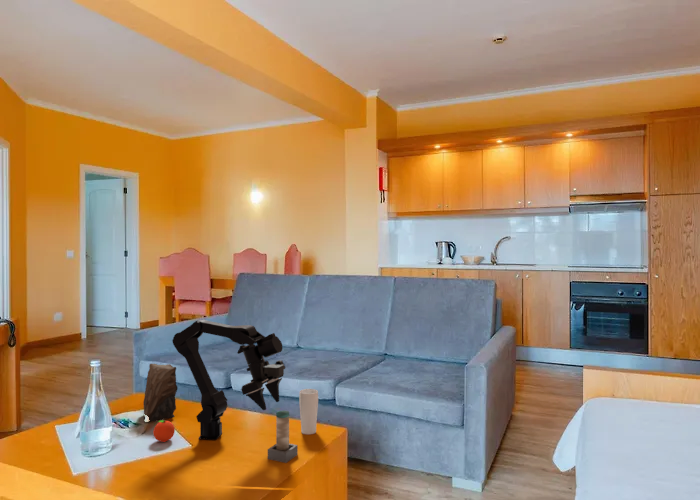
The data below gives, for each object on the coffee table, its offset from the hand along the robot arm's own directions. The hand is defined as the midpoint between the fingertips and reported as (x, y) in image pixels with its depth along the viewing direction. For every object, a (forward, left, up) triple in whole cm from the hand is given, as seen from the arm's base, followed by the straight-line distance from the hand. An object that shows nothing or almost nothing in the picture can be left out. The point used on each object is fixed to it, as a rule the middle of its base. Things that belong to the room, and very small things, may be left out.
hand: (271, 405), depth 171 cm
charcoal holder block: (+6, -10, -13) cm, 18 cm away
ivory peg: (+6, -10, -13) cm, 17 cm away
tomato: (-38, +1, -14) cm, 41 cm away
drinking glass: (+11, +12, -14) cm, 21 cm away
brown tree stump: (-52, +24, -14) cm, 59 cm away
